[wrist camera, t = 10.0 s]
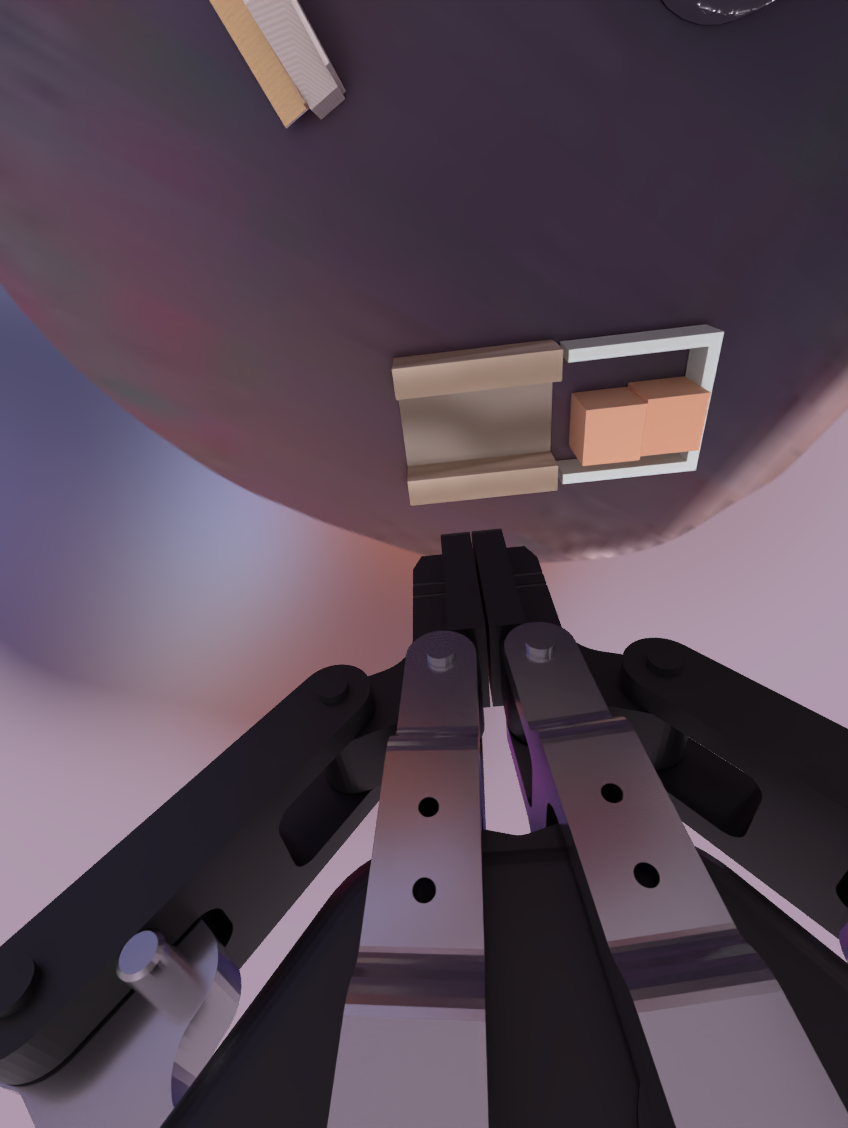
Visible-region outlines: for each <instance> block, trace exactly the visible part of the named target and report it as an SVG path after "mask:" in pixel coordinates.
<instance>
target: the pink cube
mask: <svg viewBox="0 0 848 1128" xmlns="http://www.w3.org/2000/svg"><path fill="white" fill-rule="evenodd" d="M646 411H647V403H646V402H645V401H644V400H643V399H642V398H640V397H639V396H638V395H637V394H636V393H634V392H633V391H632V390H631V389H630V388H629V387H619V388H610V389H602V390H593V391H584V392H575V393H572V394H571V413H570V432H569V446H570V448H571V449H572V451H573V452H574V454H575V456H576V457H577V459H578V460H579V462H580V463H581V465H582V466H589V465H599V464H608V463H617V462H627V461H636V460H640V455H641V448H642V441H643V433H644V426H645V419H646Z"/></svg>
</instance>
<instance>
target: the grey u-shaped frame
mask: <svg viewBox="0 0 848 1128" xmlns="http://www.w3.org/2000/svg"><path fill="white" fill-rule="evenodd" d="M723 335H724V331H721V330H719V329H716V328H714V327H712V326H709V325H707V324H704V325H695V326H687V327H678V328H670V329H661V330H653V331H645V332H636V333H628V334H619V335H611V336H602V337H594V338H585V339H577V340H568V341H560V347H561V348H562V349H563V358H564V359H565V360H566V361H567V362H568V363H570V362H579V361H587V360H596V359H604V358H613V357H622V356H630V355H639V354H647V353H656V352H665V351H673V350H682V349H690V351H689V357H688V363H687V368H686V374H685V377H687V378H688V379H690V380H692V381H693V382H695V383H696V384H698V385H700V386H701V387H703V388H704V389H706V390H707V391H709V392H711V393H712V389H713V384H714V379H715V374H716V369H717V364H718V359H719V355H720V350H721V345H722V340H723ZM711 393H710V398H711ZM710 398H709V403H710ZM709 403H708V408H709ZM708 408H707V412H706V417H705V422H704V427H703V432H704V428H705V423H706V418H707V413H708ZM703 432H702V437H703ZM702 437H701V442H702ZM701 442H700V447H701ZM700 447H699V450H696V451H687V452H677V453H668V454H659V455H649V456H640V460H636V461H627V462H617V463H608V464H599V465H589V466H582V465H581V463H580V462H579V460H578V459H568V460H559V461H556V462H557V464H558V477H559V478H560V480H561V482H562V484H570V483H580V482H589V481H599V480H608V479H618V478H627V477H637V476H646V475H656V474H665V473H675V472H684V471H694V470H696V467H697V462H698V457H699V452H700Z"/></svg>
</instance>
